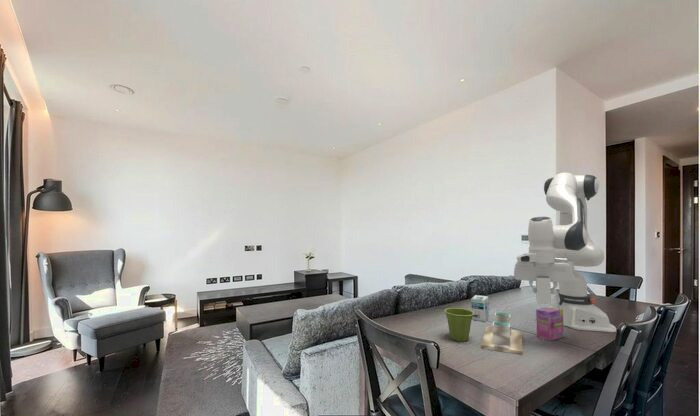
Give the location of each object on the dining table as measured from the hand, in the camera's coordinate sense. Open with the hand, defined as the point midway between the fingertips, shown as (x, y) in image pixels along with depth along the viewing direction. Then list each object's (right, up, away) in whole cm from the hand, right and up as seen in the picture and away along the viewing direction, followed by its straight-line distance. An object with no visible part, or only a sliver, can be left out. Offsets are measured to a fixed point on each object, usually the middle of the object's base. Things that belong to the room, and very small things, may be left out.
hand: (543, 292), depth 124 cm
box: (+9, -22, +10) cm, 25 cm away
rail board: (-13, -21, +6) cm, 26 cm away
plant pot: (-30, -22, +8) cm, 38 cm away
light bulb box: (-9, -23, +37) cm, 45 cm away
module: (0, -4, 0) cm, 4 cm away
